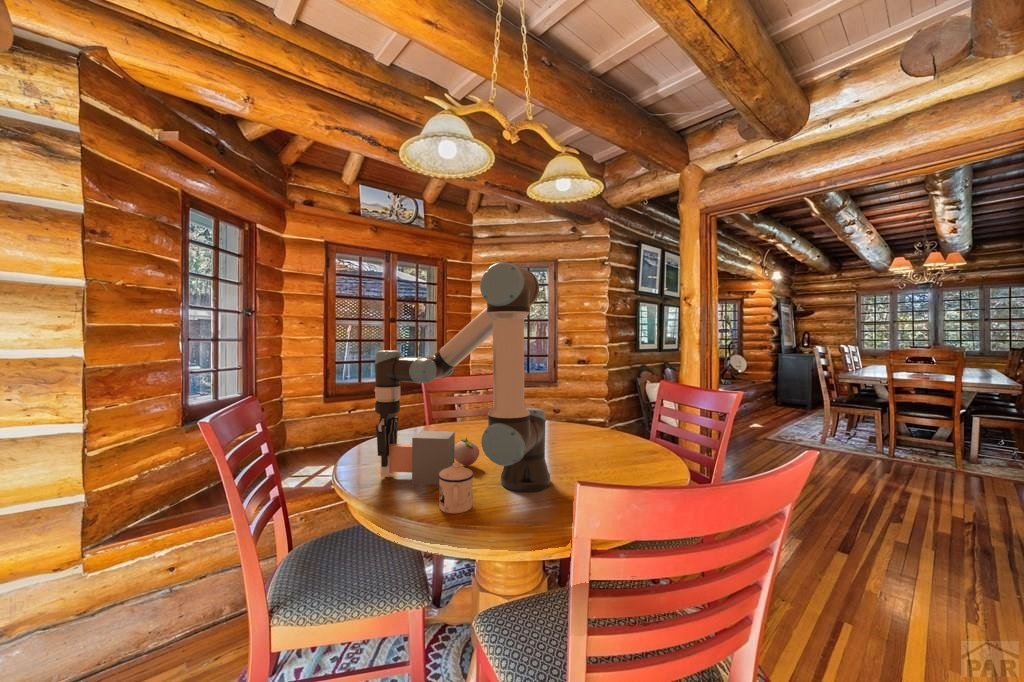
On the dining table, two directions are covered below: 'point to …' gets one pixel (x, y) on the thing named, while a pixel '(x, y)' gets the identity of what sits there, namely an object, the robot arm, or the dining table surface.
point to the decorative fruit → (466, 452)
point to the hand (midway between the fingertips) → (387, 474)
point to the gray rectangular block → (431, 455)
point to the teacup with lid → (455, 489)
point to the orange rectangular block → (400, 457)
